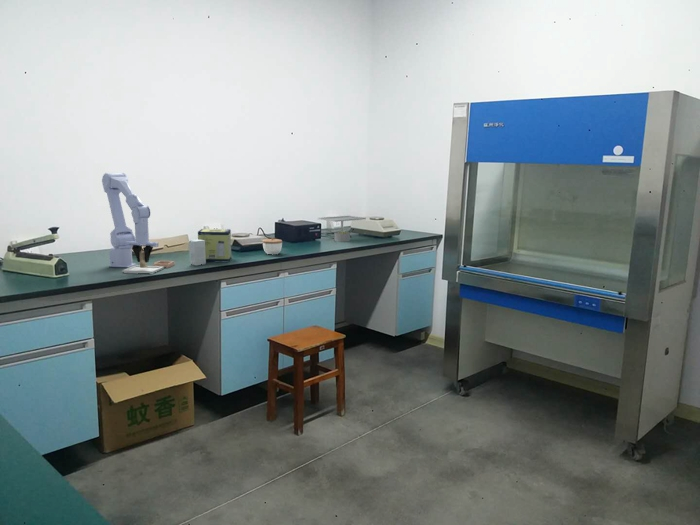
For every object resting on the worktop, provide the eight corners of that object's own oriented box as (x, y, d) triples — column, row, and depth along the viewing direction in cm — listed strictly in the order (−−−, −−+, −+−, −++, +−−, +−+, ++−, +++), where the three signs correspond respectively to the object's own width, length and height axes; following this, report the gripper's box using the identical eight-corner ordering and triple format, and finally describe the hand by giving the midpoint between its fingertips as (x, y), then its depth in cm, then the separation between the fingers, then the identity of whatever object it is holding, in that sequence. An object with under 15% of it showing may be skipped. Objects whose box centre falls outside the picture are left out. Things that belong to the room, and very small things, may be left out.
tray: (122, 272, 253) (122, 270, 253) (135, 267, 265) (135, 265, 264) (152, 274, 251) (152, 271, 251) (163, 269, 263) (163, 266, 263)
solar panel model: (348, 237, 384) (348, 215, 381) (365, 240, 372) (366, 217, 369) (317, 240, 365) (317, 217, 362) (334, 243, 353) (335, 220, 350)
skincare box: (200, 262, 280) (200, 239, 278) (206, 264, 278) (205, 240, 276) (190, 264, 276) (189, 240, 274) (195, 265, 273) (195, 241, 271)
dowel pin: (138, 267, 257) (138, 252, 255) (142, 266, 259) (141, 251, 258) (144, 267, 256) (144, 252, 255) (148, 266, 259) (147, 251, 258)
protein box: (201, 258, 293) (200, 228, 291) (231, 258, 295) (231, 229, 292) (198, 261, 283) (197, 231, 280) (229, 262, 285) (228, 231, 282)
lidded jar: (259, 253, 312) (258, 236, 310) (275, 251, 318) (275, 235, 317) (269, 256, 304) (269, 239, 302) (285, 254, 311) (286, 237, 309)
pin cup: (153, 267, 267) (153, 263, 267) (160, 264, 274) (159, 260, 274) (168, 267, 266) (168, 264, 266) (174, 264, 274) (174, 261, 273)
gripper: (122, 233, 252) (123, 262, 254) (153, 234, 250) (154, 264, 253) (129, 231, 259) (131, 260, 261) (160, 232, 257) (161, 261, 260)
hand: (143, 261), depth 257 cm, fingers closed on dowel pin, 3 cm apart
